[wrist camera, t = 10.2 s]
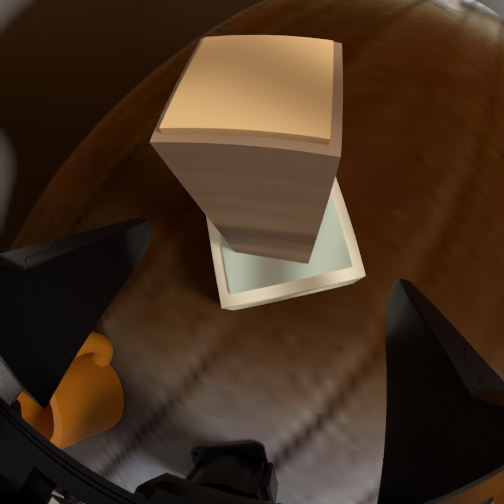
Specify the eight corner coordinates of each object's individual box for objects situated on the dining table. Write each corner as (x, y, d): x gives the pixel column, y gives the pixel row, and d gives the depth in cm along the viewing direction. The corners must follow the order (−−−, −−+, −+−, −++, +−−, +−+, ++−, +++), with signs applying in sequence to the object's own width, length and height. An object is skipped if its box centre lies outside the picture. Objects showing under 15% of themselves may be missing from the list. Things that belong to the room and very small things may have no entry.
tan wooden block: (308, 264, 19) (342, 151, 6) (235, 252, 20) (146, 137, 7) (317, 195, 20) (342, 37, 7) (249, 186, 21) (199, 34, 8)
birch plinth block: (233, 310, 23) (221, 308, 19) (213, 199, 25) (200, 177, 21) (353, 283, 22) (366, 275, 18) (321, 174, 25) (326, 149, 21)
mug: (163, 385, 22) (104, 411, 13) (95, 441, 21) (39, 467, 12) (107, 309, 24) (39, 300, 16) (51, 374, 23) (-9, 380, 15)
